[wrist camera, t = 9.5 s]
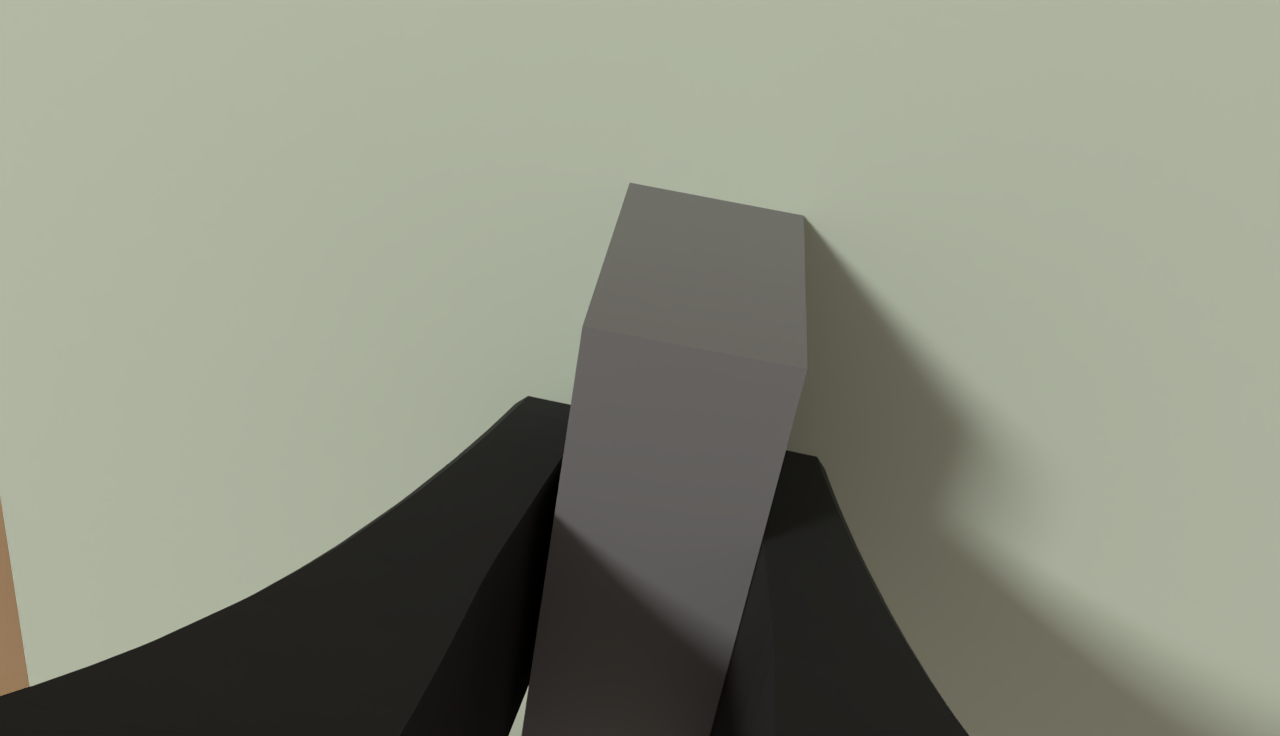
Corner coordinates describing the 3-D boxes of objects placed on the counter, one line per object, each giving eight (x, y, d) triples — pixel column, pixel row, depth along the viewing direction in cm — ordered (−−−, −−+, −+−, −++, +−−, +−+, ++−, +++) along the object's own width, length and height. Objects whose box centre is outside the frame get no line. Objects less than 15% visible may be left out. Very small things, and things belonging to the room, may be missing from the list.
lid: (1390, 977, 16) (1543, 1300, 13) (81, 716, 17) (-94, 967, 13) (2206, -23, 9) (2966, 130, 6) (-62, -436, 10) (-497, -501, 6)
